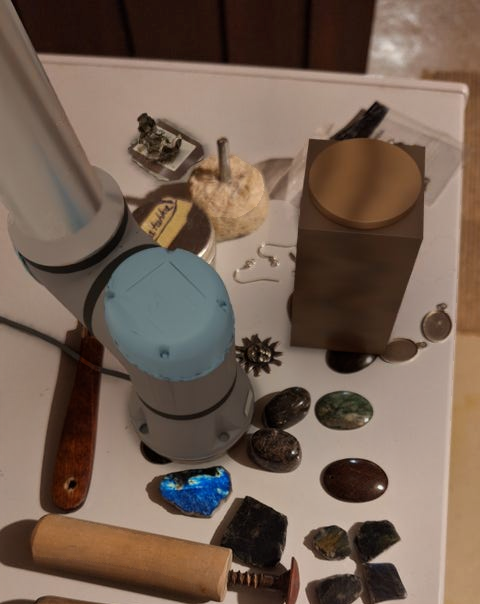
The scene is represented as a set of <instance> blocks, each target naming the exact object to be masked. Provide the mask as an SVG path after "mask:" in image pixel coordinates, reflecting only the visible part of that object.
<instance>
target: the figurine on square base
mask: <svg viewBox="0 0 480 604" xmlns="http://www.w3.org/2000/svg"><path fill="white" fill-rule="evenodd" d="M136 121H137V122H138V127H137V131H138V133H139V135H138V136H137V137H136V138H135V139H133V141H131V142H130V143H129V144H128V147H127V150H128V152H129V153H130V154H131V160H132V161H134V162H136V163H137V166H139V167H141V168H143V169H144V171H145V172H147V173H148V174H150V175H153V176H154V177H156V179H157V180H158V181H167V182H169V181H172V180H181V179H183V178H184V177H185V175H186V174H187V172H188V170H189V169H190V167H191V166H193V165H194V164H195V163H198V162H200V161H202V160H203V158H204V156H205V153H204V149H203V145H202V144H201V142H200V140H199V138H197V137H196V136H194V135H193V134H191V132H188V131H187V130H186V129H185V128H183V127H180V126H179V125H177V124H176V123H174V122H171V121H169V120H168V118H157V119H156V120H155V119H154V118H153V117H151V116H150V115H148V113H147V112H143V113H141V114H140V115H139V116H137V119H136Z"/></svg>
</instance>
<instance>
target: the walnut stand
mask: <svg viewBox="0 0 480 604" xmlns="http://www.w3.org/2000/svg"><path fill="white" fill-rule="evenodd" d="M341 141H342V140H338V139H337V140H336V139H335V140H334V139H321V138H308V142H307V143H308V144H307V150H306V151H307V152H306V159H305V165H304V166H305V167H304V175H303V182H302V183H303V184H302V191H301V196H302V199H301V207H300V215H299V214H298V222H297V223H298V225H297V237H296V247H295V248H296V250H295V252H296V253H295V264H294V265H295V266H294V278H293V291H292V307H291V322H290V323H291V324H290V336H289V337H290V338H289V347H292V348H293V347H294V348H296V347H297V348H304V349H315V350H326V351H336V352H344V353H345V352H347V353H356V354H366V355H377V356H385V354H386V350H387V346H388V344H389V341H390V340H391V339H390V338H391V335H392V332H393V330H394V326H395V324H396V321H397V318H398V314H399V312H400V309H401V307H402V303H403V299H404V297H405V294H406V292H407V288H408V285H409V282H410V279H411V275H412V273H413V271H414V268H415V265H416V261H417V260H418V259H417V258H418V255H419V252H420V250H421V247H422V244H423V241H424V231H425V230H424V229H425V227H424V225H425V186H426V185H425V184H426V182H425V181H426V179H425V178H426V146H425V145H411V144H397V143H395V144H394V143H392V144H393V145H395V146H397V147H399V148H401V149H402V150H403V151H405V152H406V153H407V154H408V155H409V156H410V157H411V158H412V159H413V160H414V161H415V163H416V165H417V166H418V169H419V171H420V175H421V183H422V184H421V190H420V193H419V197H418V200H417V202H416V204H415V206H414V207H413V209H412V210H411V211H410V212H409V213H408V214H407V215H406V216H405V217H404V218H402V219H401V220H399V221H397V222H396V223H393V224H391V225H388V226H385V227H381V228H375V229H358V228H351V227H347V226H344V225H341V224H338V223H336V222H334V221H332V220H331V219H329V218H327V217H326V216H325V215H324V214H322V213H321V212H320V211H319V210H318V209H317V207H316V206H315V204H314V203H313V201H312V199H311V196H310V193H309V187H308V185H309V173H310V169H311V166H312V164H313V162H314V161H315V159H316V158H317V157H318V155H319V154H320V153H322V152H323V151H324V150H325V149H327V148H328V147H330V146H332V145H333V144H336V143H338V142H341Z"/></svg>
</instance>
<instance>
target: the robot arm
mask: <svg viewBox="0 0 480 604" xmlns="http://www.w3.org/2000/svg"><path fill="white" fill-rule="evenodd" d="M0 202H1V203H2V204H3V206H4V207H5V209H6V210H7V211H8V213H7V219H6V222H7V223H6V225H7V233H8V235H9V239H10V241H11V243H12V247H13V249H14V252H15V254H16V257H17V259H18V260H19V261H20V262H21V264H22V266H23V268H24V270H26V272H27V274H28V275H30V276H31V277H32V278H33V280H35V281H36V282H37V283H38V284H39V285H41V286H42V287H44V288H45V289H46V290H47V291H48V292H49V293H50V294H51V295H52V296H53V297H54V298H55V299H56V300H57V301H58V302H59V303H60V304H61V305H62V306H63V307H64V308H65V309H66V310H67V311H68V312H69V313H70V314H71V315H72V316H73V317H74V318H75V319H76V320H77V321H79V323H80V324H81V325H82V326H84V328H85V329H86V330H88V332H89V333H90V334H91V335H92V336H93V337H95V339H96V340H97V341H98V342H99V343H100V344H101V345H102V346H103V347H104V348H105V349H106V350H107V351H108V352H109V354H111V355H112V356H113V357H114V358H115V359H116V360H117V361H118V362H119V363H120V364H121V365H122V367H123V368H124V369H125V370H126V372H127V373H125V372H121V371H118V370H113V369H111V368H110V369H109V368H105V367H102V366H100V367H101V368H100V372H99V373H100V374H103V375H107V376H111V377H115V378H118V379H121V380H124V381H128V382H131V384H132V385H131V389H130V392H129V399H128V410H129V417H130V421H131V424H132V426H133V429H134V430H135V433H136V435H137V436H138V438H139V439H140V441H141V442H142V443H143V445H144V446H145V447H146V448H147V449H148V450H149V451H151V452H152V453H153V454H155V455H157V456H158V457H160V458H161V459H164V460H166V461H168V462H173V463H176V464H184V465H196V464H197V465H198V464H203V463H209V462H211V461H215V460H217V459H219V458H221V457H223V456H225V455H226V454H228V453H230V452H231V451H232V450H233V449H235V448H236V447H237V446H238V445H239V444H240V443H241V442H242V440H243V439H244V438H245V437H246V435H247V433H248V431H249V430H250V428H251V425H252V423H253V419H254V415H255V392H254V388H253V384H252V381H251V379H250V376H249V375H248V373H247V371H246V370H245V368H244V367H243V366H242V364H241V363H240V362H239V361H238V360H237V348H236V328H235V324H236V317H235V311H234V309H233V304H232V302H231V299H230V295H229V292H228V289H227V286H226V284H225V282H224V280H223V279H222V277H221V275H220V274H219V273H218V271H217V270H216V269H215V268H214V267H213V266H212V265H211V264H210V263H209V262H207V261H206V260H205V259H204V258H202V257H201V256H199V255H197V254H195V253H193V252H191V251H188V250H185V249H182V248H178V247H177V248H176V249H174V250H168V248H167V247H166V246H165V247H164V246H162V245H161V244H160V243H159V242H158V241H156V240H155V238H153V237H152V236H151V235H150V234H149V233H148V232H147V231H145V230H144V229H143V228H142V227H141V226H140V224H138V222H137V220H136V219H135V218H134V216H133V214H132V211H131V209H130V207H129V203H128V202H127V199H126V198H125V196H124V194H123V192H122V189H121V187H120V186H119V184H118V182H117V181H116V179H115V178H114V177H113V176H112V174H110V173H108V172H107V171H106V170H104V169H102V168H101V167H98V166H97V165H93V164H91V162H90V160H89V158H88V156H87V154H86V151H85V149H84V148H83V145H82V143H81V141H80V139H79V137H78V135H77V133H76V131H75V129H74V127H73V125H72V123H71V121H70V119H69V116H68V115H67V112H66V110H65V108H64V105H62V102H61V99H60V98H59V96H58V95H57V92H56V90H55V88H54V86H53V84H52V82H51V80H50V78H49V76H48V74H47V72H46V69H45V68H44V66H43V64H42V61H41V59H40V57H39V56H38V54H37V51H36V50H35V47H34V45H33V43H32V41H31V39H30V37H29V35H28V33H27V31H26V28H25V27H24V24H23V23H22V20H21V18H20V17H19V14H18V12H17V11H16V8H15V6H14V4H13V2H12V0H0ZM0 323H1V324H4V325H7V326H9V327H11V328H14V329H16V330H20V331H22V332H25V333H27V334H29V335H32V336H34V337H37V338H39V339H41V340H43V341H45V342H48V343H49V344H51V345H52V346H55V347H57V349H60V350H62V351H63V352H65V353H66V354H67V355H69V356H70V357H72V359H75V360H76V361H77V362H79V356H81V355H80V354H79V353H77V352H76V351H74V350H73V349H71V348H70V347H69V346H67V345H66V344H64V343H62V342H61V341H59V340H57V339H55V338H54V337H52V336H49V335H47V334H46V333H43V332H41V331H39V330H36V329H34V328H33V327H32V328H31V327H29V326H27V325H24V324H22V323H19V322H17V321H14V320H11V319H9V318H6V317H3V316H1V315H0Z"/></svg>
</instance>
